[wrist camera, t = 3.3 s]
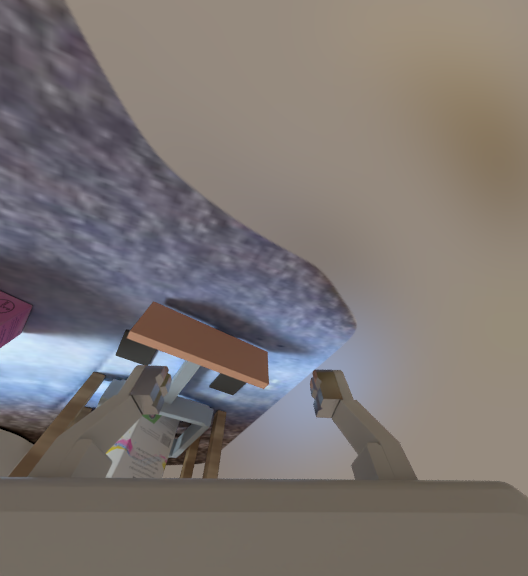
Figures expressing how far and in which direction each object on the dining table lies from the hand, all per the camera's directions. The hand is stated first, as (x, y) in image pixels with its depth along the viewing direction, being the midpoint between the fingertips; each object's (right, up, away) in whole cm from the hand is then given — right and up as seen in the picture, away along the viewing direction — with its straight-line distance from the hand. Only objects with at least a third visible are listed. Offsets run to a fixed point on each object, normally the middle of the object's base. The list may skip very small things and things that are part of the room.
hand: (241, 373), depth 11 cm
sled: (-13, -10, +18) cm, 24 cm away
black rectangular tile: (-14, -3, +13) cm, 20 cm away
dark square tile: (-4, -9, +17) cm, 20 cm away
